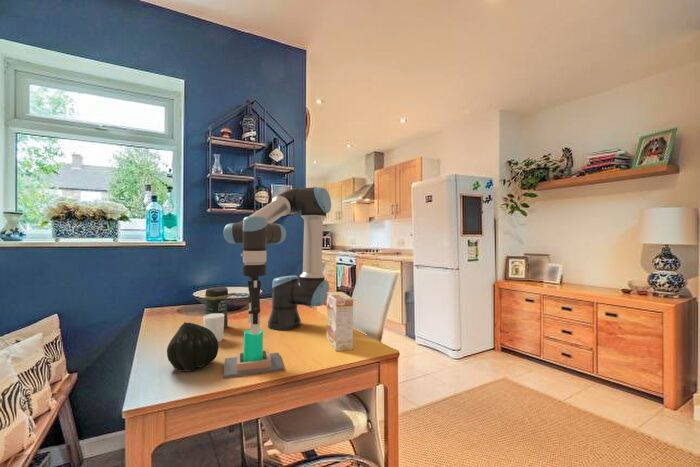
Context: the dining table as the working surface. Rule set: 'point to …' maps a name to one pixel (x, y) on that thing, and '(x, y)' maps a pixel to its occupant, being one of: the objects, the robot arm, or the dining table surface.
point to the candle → (253, 346)
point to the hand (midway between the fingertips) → (253, 327)
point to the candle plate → (252, 365)
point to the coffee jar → (217, 302)
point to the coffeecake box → (340, 321)
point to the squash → (192, 347)
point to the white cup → (215, 324)
